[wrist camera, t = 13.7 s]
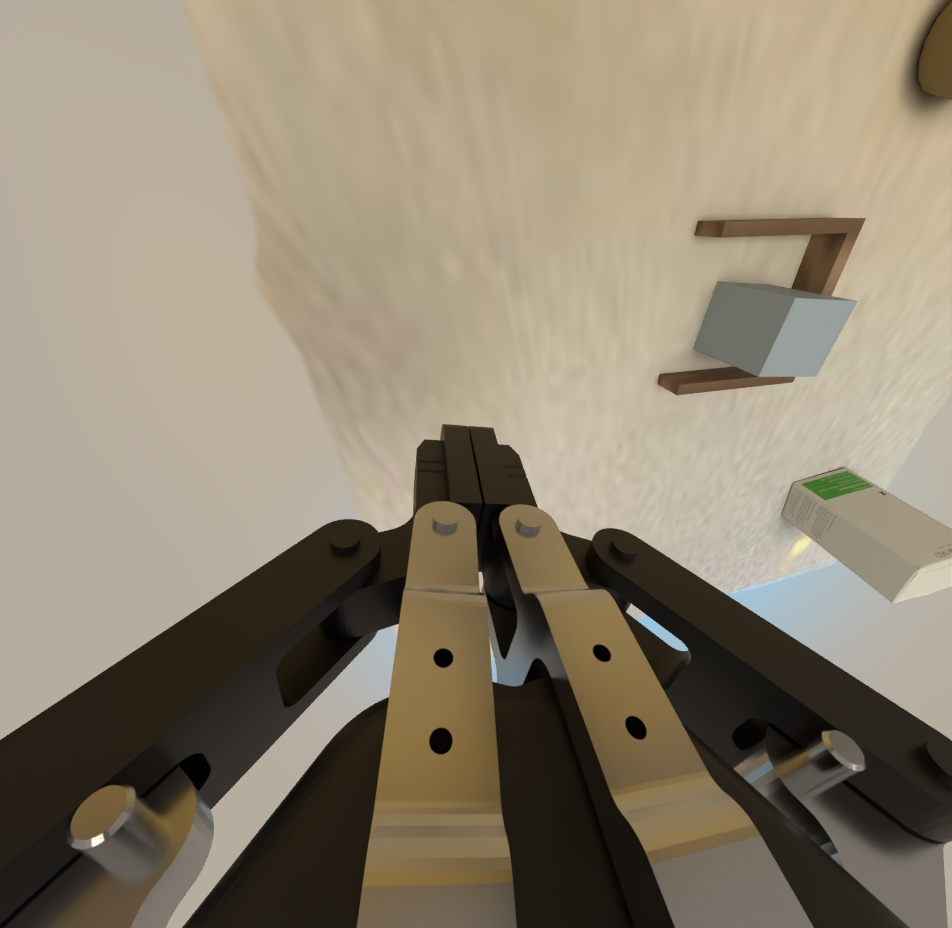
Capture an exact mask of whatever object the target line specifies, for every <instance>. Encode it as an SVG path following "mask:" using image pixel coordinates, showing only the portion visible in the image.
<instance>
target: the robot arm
mask: <svg viewBox="0 0 952 928" xmlns="http://www.w3.org/2000/svg"><path fill="white" fill-rule="evenodd" d="M478 572H482V574H483V581H484V582H483V586H482V590H481V593H480V589H479V573H478ZM631 603H632V604H633V605H634V606H636V607H637V608H638V609H640V610H641V611H642V612H644V613H645V614H646V615H648V616H649V617H650V618H652V619H653V620H654V621H656V622H657V623H658V624H660V625H661V626H662V627H664V628H665V629H666V630H668V631H669V632H670V633H672V634H673V635H674V636H676V637H677V638H678V639H680V640H681V641H682V642H683V643H684V644H685V645H686V646H687V648H688V649H689V650H688V651H679V650H676V649H674V648H672V647H671V646H669V645H668V644H666V643H665V642H664V641H663V640H661V639H660V638H659V637H657V636H656V635H655V634H654V633H652V632H651V631H650V630H648V629H647V628H646V627H644V626H643V625H642V624H641V623H639V622H638V621H637V620H635V619H634V618H633V617H631V616H630V615H629V614H628V613H626V611H627V609H628V608H629V606H630V604H631ZM396 624H399V628H398V635H397V642H396V650H395V658H394V666H393V672H392V680H391V687H390V695H389V697H388V698H386V699H384V700H381V701H379V702H378V703H375V704H374V705H372V706H370V707H369V708H367V709H366V710H364V711H363V712H361V713H360V714H358V715H357V716H356V717H355V718H353V719H352V720H351V721H350V722H349V723H347V724H346V725H345V726H344V727H343V728H342V729H341V730H340V731H339V732H338V733H337V734H336V735H335V736H334V737H333V739H332V740H331V741H330V742H329V743H328V744H327V746H326V747H325V748H324V749H323V751H322V752H321V753H320V754H319V756H318V757H317V758H316V760H315V761H314V762H313V764H312V765H311V766H310V767H309V768H308V770H307V771H306V772H305V774H304V775H303V776H302V777H301V778H300V780H299V781H298V782H297V784H296V785H295V786H294V787H293V789H292V790H291V791H290V792H289V794H288V795H287V796H286V798H285V799H284V800H283V801H282V802H281V804H280V805H279V806H278V808H277V809H276V810H275V812H274V813H273V814H272V815H271V817H270V818H269V819H268V820H267V821H266V823H265V824H264V825H263V827H262V828H261V829H260V830H259V832H258V833H257V834H256V836H255V837H254V838H253V839H252V840H251V842H250V843H249V844H248V846H247V847H246V848H245V849H244V851H243V852H242V853H241V854H240V856H239V857H238V858H237V860H236V861H235V862H234V863H233V864H232V866H231V867H230V868H229V870H228V871H227V872H226V873H225V875H224V876H223V877H222V878H221V880H220V881H219V882H218V883H217V885H216V886H215V887H214V889H213V890H212V891H211V892H210V893H209V895H208V896H207V897H206V898H205V900H204V901H203V902H202V904H201V905H200V906H199V907H198V909H197V910H196V911H195V912H194V914H193V915H192V916H191V918H190V919H189V920H188V921H187V922H186V924H185V925H184V926H183V927H182V928H948V927H947V912H946V894H945V876H944V860H943V847H944V845H945V844H946V843H947V842H950V841H952V741H951V740H950V739H949V738H947V737H946V736H944V735H943V734H941V733H940V732H938V731H937V730H935V729H933V728H932V727H930V726H929V725H927V724H926V723H924V722H923V721H921V720H920V719H918V718H916V717H915V716H913V715H912V714H910V713H909V712H907V711H906V710H904V709H902V708H901V707H899V706H898V705H896V704H895V703H893V702H892V701H890V700H889V699H887V698H886V697H884V696H882V695H881V694H879V693H878V692H876V691H875V690H873V689H872V688H870V687H869V686H867V685H865V684H863V683H862V682H860V681H859V680H858V679H856V678H855V677H853V676H851V675H850V674H848V673H847V672H845V671H844V670H842V669H841V668H839V667H837V666H836V665H834V664H833V663H831V662H830V661H828V660H827V659H825V658H823V657H822V656H820V655H819V654H817V653H816V652H814V651H813V650H811V649H809V648H808V647H806V646H805V645H803V644H802V643H800V642H799V641H797V640H796V639H794V638H792V637H791V636H789V635H788V634H786V633H785V632H783V631H782V630H780V629H778V628H777V627H775V626H774V625H772V624H771V623H769V622H768V621H766V620H765V619H763V618H761V617H760V616H758V615H757V614H755V613H754V612H752V611H751V610H749V609H747V608H746V607H744V606H743V605H741V604H740V603H738V602H737V601H735V600H734V599H732V598H730V597H729V596H727V595H726V594H724V593H723V592H721V591H720V590H718V589H717V588H715V587H713V586H712V585H710V584H709V583H707V582H706V581H704V580H703V579H701V578H699V577H698V576H696V575H695V574H693V573H692V572H690V571H689V570H687V569H686V568H684V567H682V566H681V565H679V564H678V563H676V562H675V561H673V560H672V559H670V558H668V557H667V556H665V555H664V554H662V553H661V552H659V551H658V550H656V549H654V548H653V547H651V546H650V545H648V544H647V543H645V542H644V541H642V540H641V539H639V538H637V537H636V536H634V535H632V534H630V533H628V532H626V531H623V530H619V529H613V528H607V529H602V530H600V531H598V532H597V533H596V534H595V535H594V537H593V539H592V541H590V540H587V539H583V538H579V537H576V536H572V535H569V534H566V533H563V532H561V531H559V529H558V527H557V525H556V523H555V521H554V520H553V519H552V517H551V516H550V515H548V514H547V513H546V512H544V511H543V510H541V509H539V508H538V507H537V504H536V501H535V498H534V496H533V493H532V490H531V487H530V485H529V482H528V479H527V478H526V474H525V471H524V468H523V465H522V462H521V460H520V457H519V455H518V454H517V453H516V452H515V451H514V450H513V449H512V448H511V447H510V446H509V445H499V444H498V443H497V439H496V436H495V433H494V429H493V428H488V427H475V426H468V427H467V426H460V425H447V424H443V425H442V430H441V438H440V441H439V440H425V439H424V441H423V442H422V443H421V444H420V446H419V447H418V448H417V455H416V468H415V481H414V504H413V517H412V518H411V519H410V520H409V521H408V522H407V523H405V524H404V525H402V526H400V527H398V528H395V529H392V530H388V531H383V532H379V533H378V531H377V530H376V529H375V528H374V527H373V526H371V525H370V524H368V523H366V522H363V521H360V520H353V519H344V520H338V521H334V522H331V523H328V524H326V525H324V526H323V527H321V528H319V529H318V530H316V531H315V532H313V533H312V534H310V535H309V536H307V537H306V538H304V539H303V540H301V541H300V542H298V543H297V544H295V545H294V546H292V547H291V548H289V549H288V550H286V551H285V552H283V553H282V554H280V555H279V556H277V557H276V558H274V559H273V560H271V561H270V562H268V563H267V564H265V565H263V566H262V567H260V568H259V569H257V570H256V571H254V572H253V573H251V574H250V575H249V576H247V577H245V578H244V579H242V580H241V581H239V582H238V583H236V584H235V585H233V586H232V587H230V588H229V589H227V590H226V591H224V592H223V593H221V594H220V595H218V596H217V597H215V598H214V599H212V600H211V601H209V602H208V603H206V604H205V605H203V606H202V607H200V608H199V609H197V610H196V611H194V612H193V613H191V614H190V615H188V616H187V617H185V618H184V619H182V620H181V621H179V622H178V623H176V624H175V625H173V626H172V627H170V628H169V629H167V630H166V631H164V632H163V633H161V634H160V635H158V636H156V637H155V638H153V639H152V640H150V641H149V642H147V643H146V644H145V645H143V646H142V647H140V648H138V649H137V650H135V651H134V652H132V653H131V654H129V655H128V656H126V657H125V658H123V659H122V660H120V661H119V662H117V663H116V664H114V665H113V666H111V667H110V668H108V669H107V670H105V671H104V672H102V673H101V674H99V675H98V676H96V677H95V678H93V679H92V680H90V681H89V682H87V683H86V684H84V685H83V686H81V687H80V688H78V689H77V690H75V691H74V692H72V693H71V694H69V695H67V696H66V697H65V698H63V699H61V700H60V701H58V702H57V703H55V704H54V705H53V706H51V707H50V708H48V709H46V710H45V711H43V712H42V713H40V714H39V715H37V716H36V717H34V718H33V719H31V720H30V721H28V722H27V723H25V724H24V725H22V726H21V727H19V728H18V729H16V730H15V731H13V732H12V733H10V734H9V735H7V736H6V737H4V738H3V739H1V740H0V928H166V926H167V924H168V921H169V919H170V917H171V916H172V914H173V912H174V911H175V909H176V907H177V906H178V904H179V903H180V901H181V900H182V899H183V897H184V896H185V894H186V893H187V892H188V890H189V889H190V887H191V886H192V885H193V883H194V882H195V880H196V879H197V877H198V875H199V874H200V872H201V870H202V868H203V866H204V864H205V862H206V859H207V857H208V854H209V851H210V848H211V845H212V840H213V832H214V823H213V816H212V813H211V809H212V808H213V807H214V806H215V805H216V803H218V801H219V800H220V799H221V798H222V797H223V796H224V795H225V794H226V793H227V792H228V791H229V790H230V789H231V788H232V787H233V786H234V785H235V784H236V782H237V781H238V780H239V779H240V778H241V777H242V776H243V775H244V774H245V773H246V772H247V771H248V770H249V769H250V768H251V767H252V766H253V765H254V764H255V762H256V761H257V760H258V759H259V758H260V757H261V756H262V755H263V754H264V753H265V752H266V751H267V750H268V749H269V748H270V747H271V746H272V745H273V744H274V742H275V741H276V740H277V739H278V738H279V737H280V736H281V735H282V734H283V733H284V732H285V731H286V730H287V729H288V728H289V727H290V726H291V725H292V723H293V722H294V721H295V720H296V719H297V718H298V717H299V716H300V715H301V714H302V713H303V712H304V711H305V710H306V709H307V708H308V707H309V706H310V705H311V703H313V701H314V700H315V699H316V698H317V697H318V696H319V695H320V694H321V693H322V692H323V691H324V690H325V689H326V688H327V686H329V685H330V683H332V681H333V680H334V679H335V678H336V677H337V676H338V675H339V674H340V673H341V672H342V671H343V670H344V669H345V668H346V667H347V666H348V665H349V664H350V662H351V661H352V660H353V659H354V658H355V657H356V656H357V655H358V654H359V653H360V652H361V651H362V650H363V649H364V647H366V646H367V645H368V644H369V642H370V641H371V640H372V639H373V638H374V636H375V635H376V633H377V631H378V630H381V629H384V628H387V627H390V626H393V625H396ZM489 637H490V641H491V646H492V650H493V654H494V659H495V663H496V669H497V683H495V682H492V669H491V655H490V641H489Z"/></svg>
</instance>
